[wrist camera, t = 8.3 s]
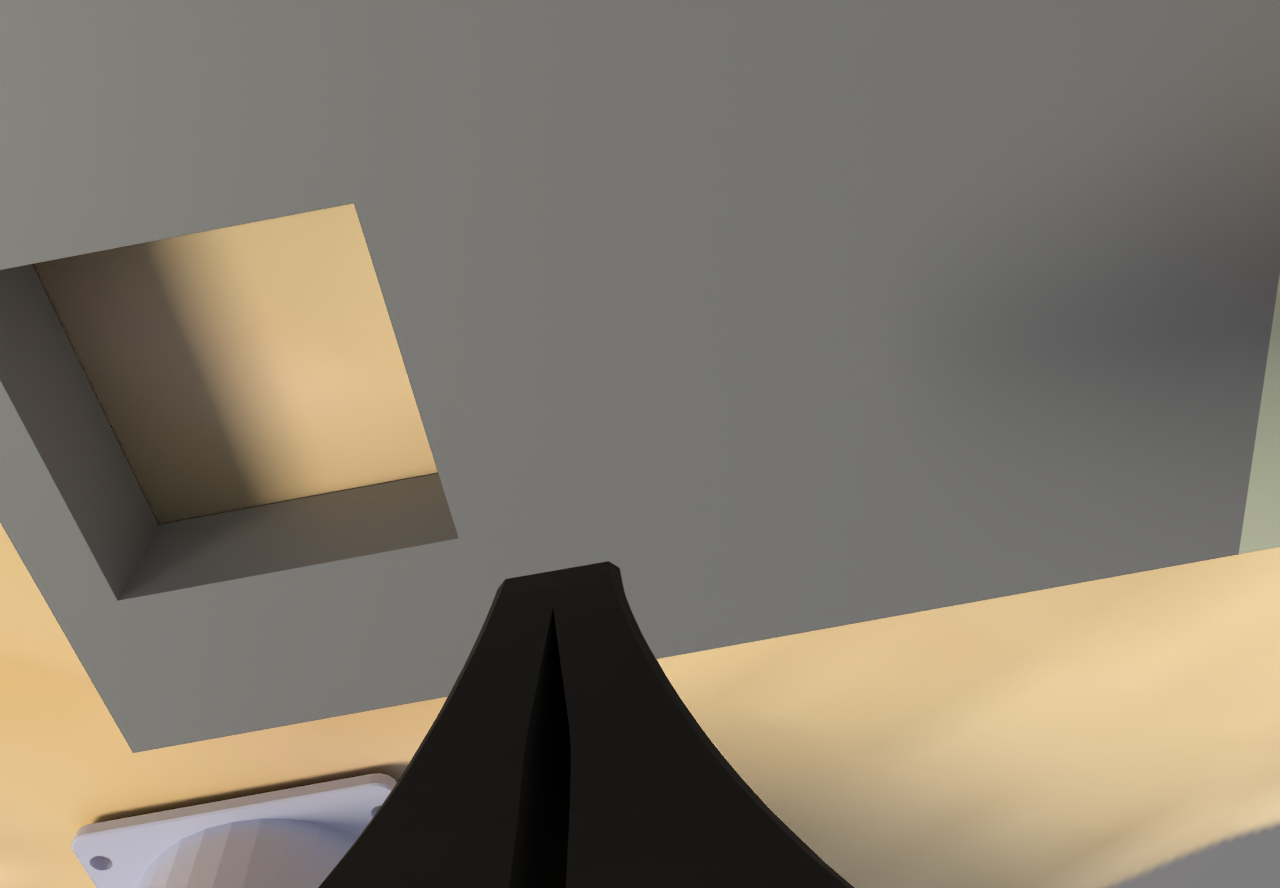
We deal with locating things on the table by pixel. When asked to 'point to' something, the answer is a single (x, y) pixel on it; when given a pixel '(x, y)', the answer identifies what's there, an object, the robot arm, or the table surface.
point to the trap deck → (659, 315)
